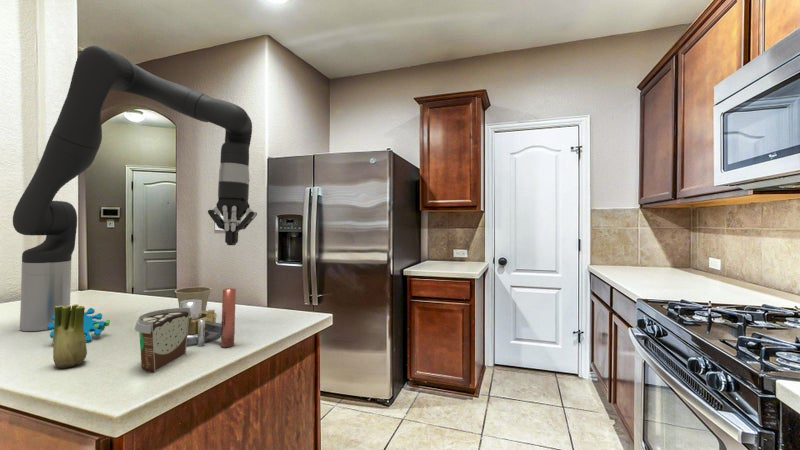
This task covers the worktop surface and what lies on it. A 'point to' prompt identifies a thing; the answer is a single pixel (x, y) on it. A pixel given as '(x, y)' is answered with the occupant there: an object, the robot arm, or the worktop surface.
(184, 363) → the worktop surface
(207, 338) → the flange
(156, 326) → the food container
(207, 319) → the reddish rod with blocks
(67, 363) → the fennel bulb
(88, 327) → the blue spiky virus model
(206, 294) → the flower pot
